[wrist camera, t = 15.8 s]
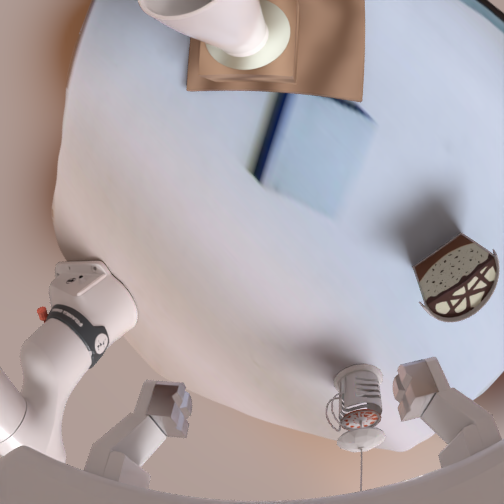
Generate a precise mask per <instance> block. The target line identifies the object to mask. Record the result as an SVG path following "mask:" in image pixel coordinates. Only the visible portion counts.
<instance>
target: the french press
mask: <svg viewBox="0 0 504 504" xmlns="http://www.w3.org/2000/svg"><path fill="white" fill-rule="evenodd" d="M382 380H383V374H382V372H381V370H380V369H378V368H377V367H375V366H373V365H367V364H360V365H353V366H350V367H348V368H345V369H344V370H342V371H341V372H339V373H338V374H337V376H336V377H335V379H334V387H335V388H336V390H337V391H338V392H339V393H338V394H336V395H335V396H334V397H333V399H331V400H330V401H329V402H328V403H327V406H326V418H327V420H328V422H329V424H330V425H331V427H332V428H333V429H335V430H336V431H340V429H341V426H342V427H343V428H344V429H346V430H348V431H347V432H346V433H344V434H342V435H341V436H340V437H339V439H338V440H337V445H338V446H339V447H340V448H342V449H345V450H347V451H351V452H361V484H360V491H362V451H368V450H370V449H372V448H374V447H376V446H378V445H380V444H381V443H382V442H383V441H384V440H385V437H386V435H385V433H384V432H383V431H382V430H381V429H378V428H374V426H376V425H377V424H378V423H379V422H380V420H381V416H380V415H381V413H382V403H381V394H380V392H379V391H380V389H379V388H380V386H379V385H380V384H381V383H382ZM337 395H339V397H337V398H335V397H336V396H337ZM334 399H339V419H340V422H339V421H338V420H337V418H336V417H335V415H334V412H333V401H334ZM342 399H343V401H344V403H343V401H342ZM331 401H332V402H331ZM330 402H331V411H332V414H333V416H334V418H335V420H336V421H337V422H338V424H340V426H339V430H337V429H336V428H335V427H333V425H332V424H331V423H330V421H329V418H328V416H327V408H328V405H329V403H330ZM364 402H367V404H366V405H360V406H357V407H353V408H350V409H346V407H349V406H352V405H356V404H360V403H364ZM342 404H343V406H344V408H343V407H342ZM364 407H367V409H361V410H356V409H360V408H364ZM342 410H343V411H346V412H349V411H353V410H356V411H353V412H350V413H348V414H345V413H343V412H342ZM340 413H341V414H342V415H343V416H344V417H343V418H342V416H341V415H340Z"/></svg>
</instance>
